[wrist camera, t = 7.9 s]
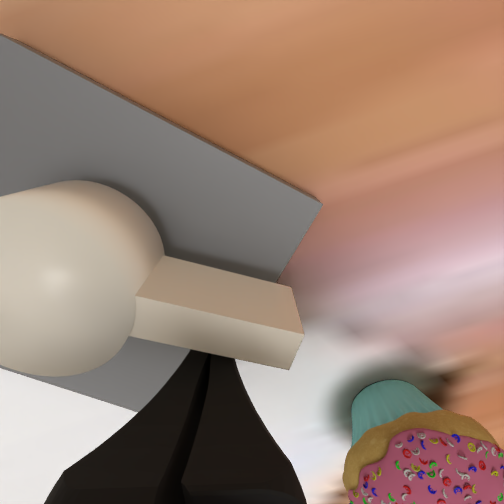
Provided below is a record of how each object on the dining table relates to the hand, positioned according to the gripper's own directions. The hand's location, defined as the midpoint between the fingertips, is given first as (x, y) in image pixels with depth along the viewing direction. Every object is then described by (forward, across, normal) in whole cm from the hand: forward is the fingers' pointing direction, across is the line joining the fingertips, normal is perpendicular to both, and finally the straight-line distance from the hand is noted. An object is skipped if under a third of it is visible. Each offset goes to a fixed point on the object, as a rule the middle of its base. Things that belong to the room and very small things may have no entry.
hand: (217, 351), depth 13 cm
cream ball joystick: (+1, +2, -4) cm, 4 cm away
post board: (+4, +5, -2) cm, 7 cm away
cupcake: (+4, -11, +9) cm, 14 cm away
